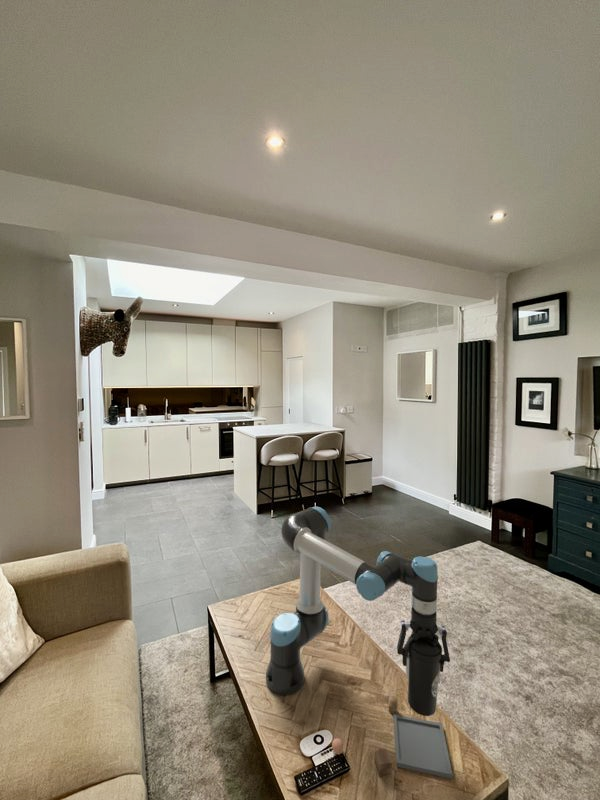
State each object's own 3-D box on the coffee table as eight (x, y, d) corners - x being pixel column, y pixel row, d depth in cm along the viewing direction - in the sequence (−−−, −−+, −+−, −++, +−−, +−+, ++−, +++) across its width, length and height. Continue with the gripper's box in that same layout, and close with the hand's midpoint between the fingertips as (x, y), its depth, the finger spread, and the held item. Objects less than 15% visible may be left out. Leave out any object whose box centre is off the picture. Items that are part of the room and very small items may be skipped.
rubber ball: (331, 756, 109) (331, 745, 109) (332, 744, 112) (332, 733, 112) (342, 758, 108) (343, 747, 108) (343, 747, 112) (343, 736, 111)
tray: (396, 766, 106) (396, 762, 106) (393, 717, 122) (393, 713, 122) (452, 778, 103) (452, 774, 103) (441, 727, 118) (441, 723, 118)
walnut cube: (379, 777, 103) (379, 764, 103) (374, 762, 107) (374, 750, 107) (392, 775, 104) (392, 762, 104) (386, 761, 108) (387, 748, 108)
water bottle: (435, 725, 105) (439, 651, 103) (401, 707, 110) (404, 637, 109) (441, 699, 113) (445, 631, 112) (409, 684, 119) (413, 619, 118)
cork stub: (388, 714, 123) (389, 702, 123) (388, 706, 126) (388, 694, 126) (397, 715, 122) (397, 703, 122) (397, 708, 125) (397, 696, 125)
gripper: (390, 611, 109) (388, 680, 110) (463, 621, 105) (460, 693, 105) (388, 596, 116) (387, 662, 117) (457, 605, 112) (455, 673, 113)
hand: (422, 677), depth 111 cm, fingers closed on water bottle, 8 cm apart
